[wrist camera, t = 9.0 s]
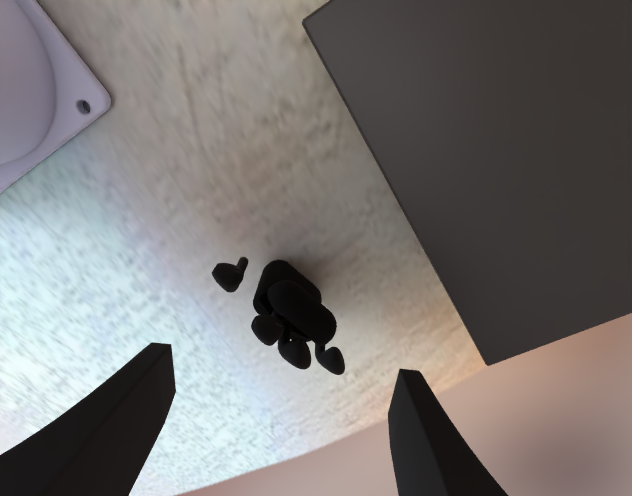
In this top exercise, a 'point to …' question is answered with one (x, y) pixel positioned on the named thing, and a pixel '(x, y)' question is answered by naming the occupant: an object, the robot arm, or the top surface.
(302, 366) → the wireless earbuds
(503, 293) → the case lid
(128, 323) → the top surface
